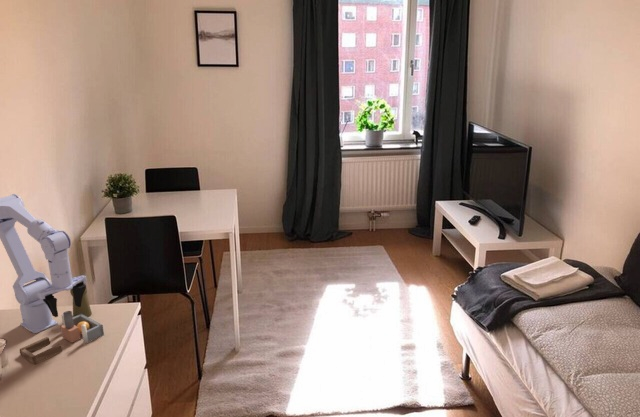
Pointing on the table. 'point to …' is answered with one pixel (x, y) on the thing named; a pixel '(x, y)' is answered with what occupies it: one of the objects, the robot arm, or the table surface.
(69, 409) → the table surface
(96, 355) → the table surface
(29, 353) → the rail frame
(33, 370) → the table surface
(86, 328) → the ball
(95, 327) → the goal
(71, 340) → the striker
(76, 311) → the olive green tapered cylinder
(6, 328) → the table surface
